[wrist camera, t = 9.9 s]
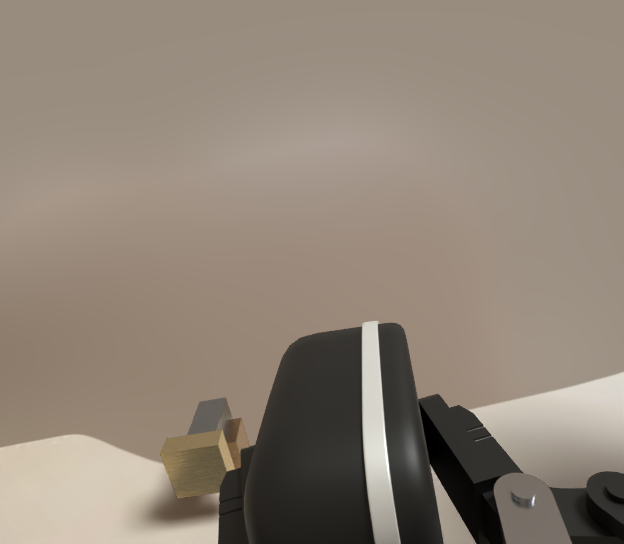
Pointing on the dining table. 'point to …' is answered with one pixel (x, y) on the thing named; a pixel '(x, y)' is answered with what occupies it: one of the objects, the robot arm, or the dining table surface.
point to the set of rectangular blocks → (205, 450)
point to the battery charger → (343, 446)
